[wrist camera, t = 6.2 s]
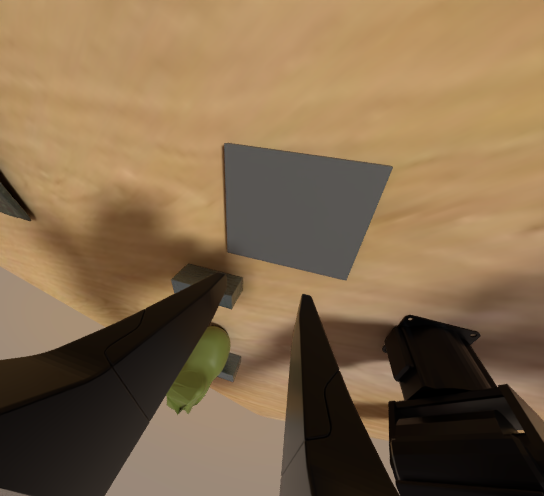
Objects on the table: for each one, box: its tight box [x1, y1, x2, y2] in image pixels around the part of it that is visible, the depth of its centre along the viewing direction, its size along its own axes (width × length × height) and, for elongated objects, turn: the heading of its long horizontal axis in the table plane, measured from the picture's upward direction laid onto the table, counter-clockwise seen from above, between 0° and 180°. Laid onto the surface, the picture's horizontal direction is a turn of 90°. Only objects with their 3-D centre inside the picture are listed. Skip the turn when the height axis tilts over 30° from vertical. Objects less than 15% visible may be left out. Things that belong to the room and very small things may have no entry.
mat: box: [224, 143, 393, 280], centre depth 17 cm, size 12×10×1 cm
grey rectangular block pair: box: [171, 264, 243, 382], centre depth 27 cm, size 7×19×3 cm, turn 174°
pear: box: [166, 326, 230, 414], centre depth 25 cm, size 6×5×10 cm
